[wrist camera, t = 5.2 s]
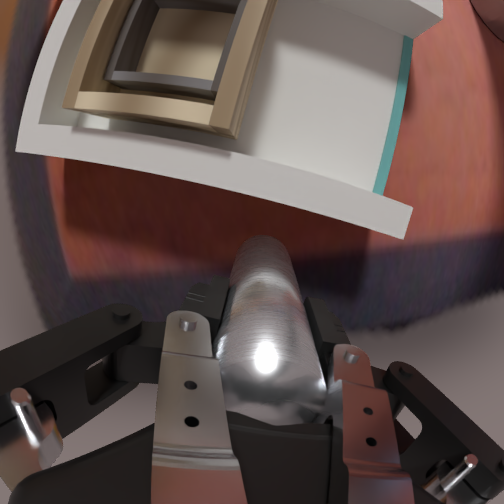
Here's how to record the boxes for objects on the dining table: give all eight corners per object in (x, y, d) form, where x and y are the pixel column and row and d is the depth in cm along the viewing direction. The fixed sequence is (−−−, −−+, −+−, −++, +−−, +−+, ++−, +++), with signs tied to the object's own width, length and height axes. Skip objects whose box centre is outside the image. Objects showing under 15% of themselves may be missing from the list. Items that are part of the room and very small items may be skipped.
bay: (406, 29, 17) (442, 1, 11) (366, 219, 22) (403, 239, 16) (124, -23, 16) (96, -56, 9) (64, 150, 21) (15, 151, 14)
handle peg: (296, 242, 18) (348, 370, 7) (281, 292, 19) (302, 448, 7) (242, 229, 18) (210, 344, 6) (230, 279, 19) (192, 430, 7)
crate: (278, -1, 15) (284, -46, 10) (237, 139, 19) (228, 128, 13) (154, -12, 15) (129, -50, 9) (107, 118, 18) (61, 107, 12)
